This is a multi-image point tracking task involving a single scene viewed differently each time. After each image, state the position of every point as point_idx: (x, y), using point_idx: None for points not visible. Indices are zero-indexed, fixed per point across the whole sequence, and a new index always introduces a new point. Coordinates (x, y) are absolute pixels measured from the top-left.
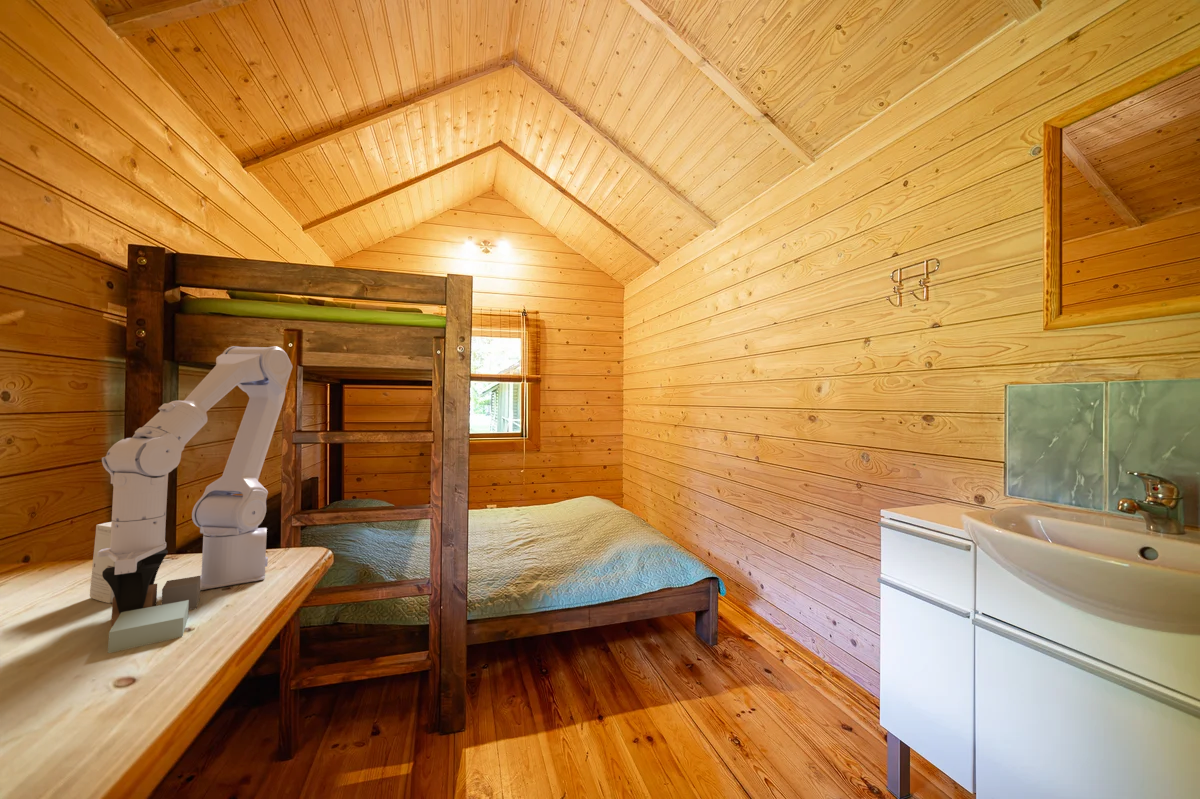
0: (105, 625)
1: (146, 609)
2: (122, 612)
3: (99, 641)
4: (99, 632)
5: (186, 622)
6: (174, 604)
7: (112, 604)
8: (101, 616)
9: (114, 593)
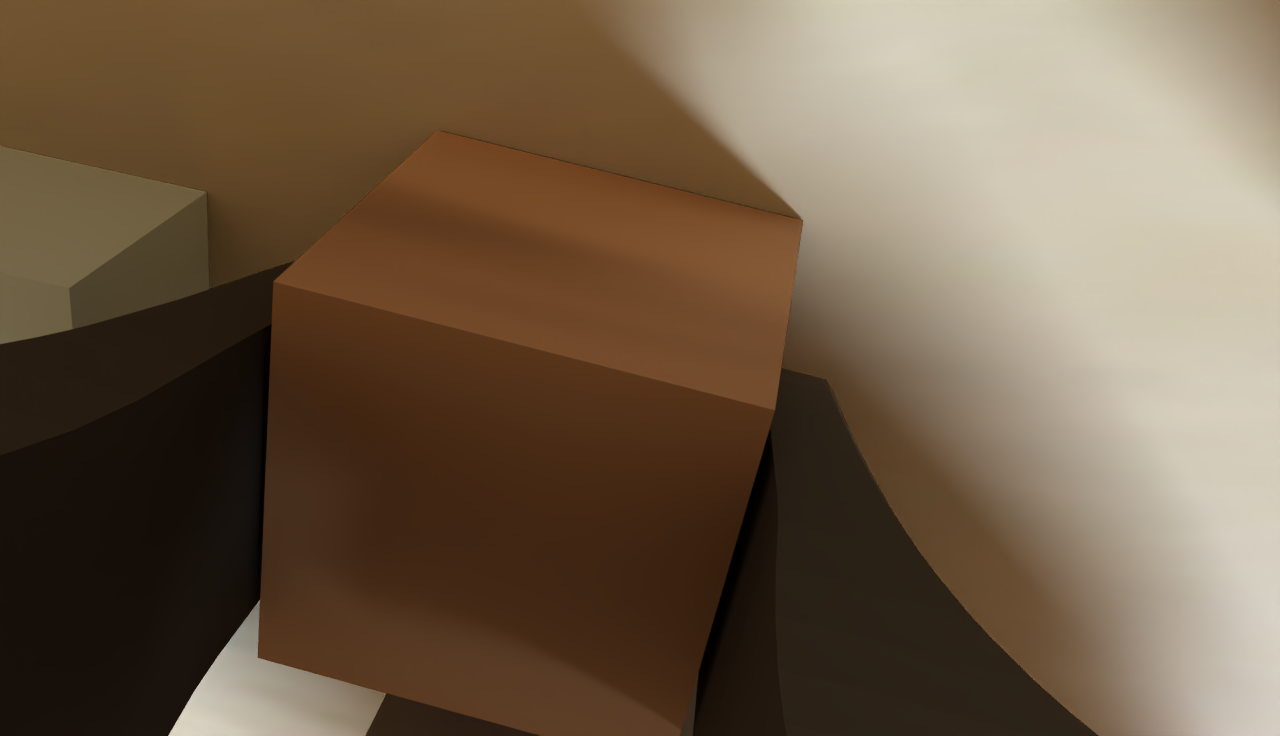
0: (534, 82)
1: None
2: (54, 296)
3: (10, 14)
4: (314, 21)
5: None
6: None
7: (317, 241)
8: (980, 57)
9: (24, 345)
